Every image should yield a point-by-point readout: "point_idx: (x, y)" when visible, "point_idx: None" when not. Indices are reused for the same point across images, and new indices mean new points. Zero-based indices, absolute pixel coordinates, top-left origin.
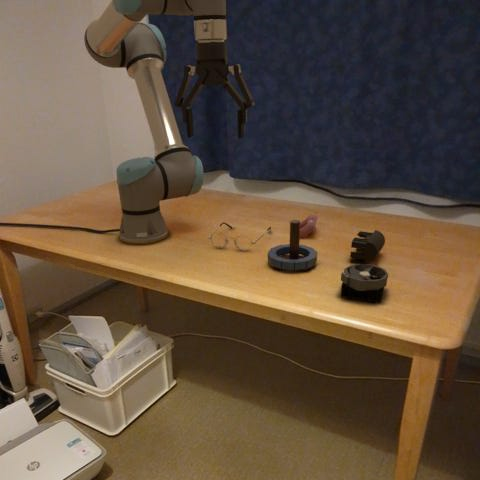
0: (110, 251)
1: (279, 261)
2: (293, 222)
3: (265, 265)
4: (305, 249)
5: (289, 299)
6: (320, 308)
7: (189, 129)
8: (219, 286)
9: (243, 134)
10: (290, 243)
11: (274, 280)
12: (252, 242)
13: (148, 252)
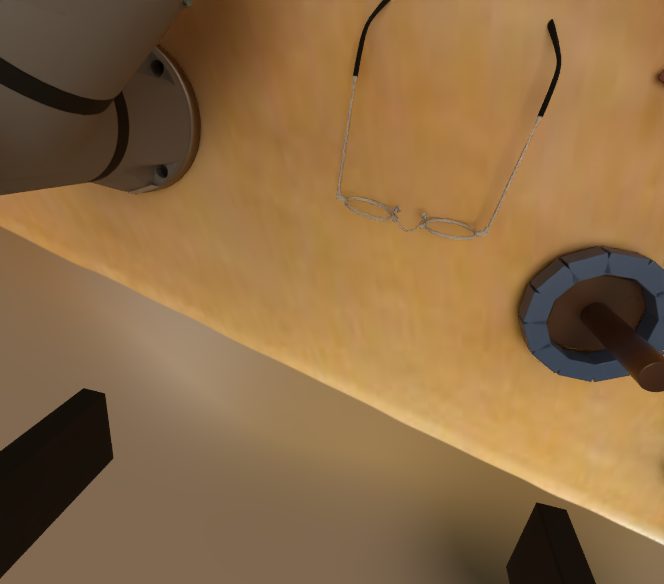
0: (110, 235)
1: (550, 369)
2: (648, 386)
3: (508, 316)
4: (650, 292)
5: (547, 467)
6: (604, 500)
7: (65, 508)
8: (402, 411)
9: (569, 538)
10: (605, 346)
11: (524, 393)
12: (479, 234)
13: (197, 239)
